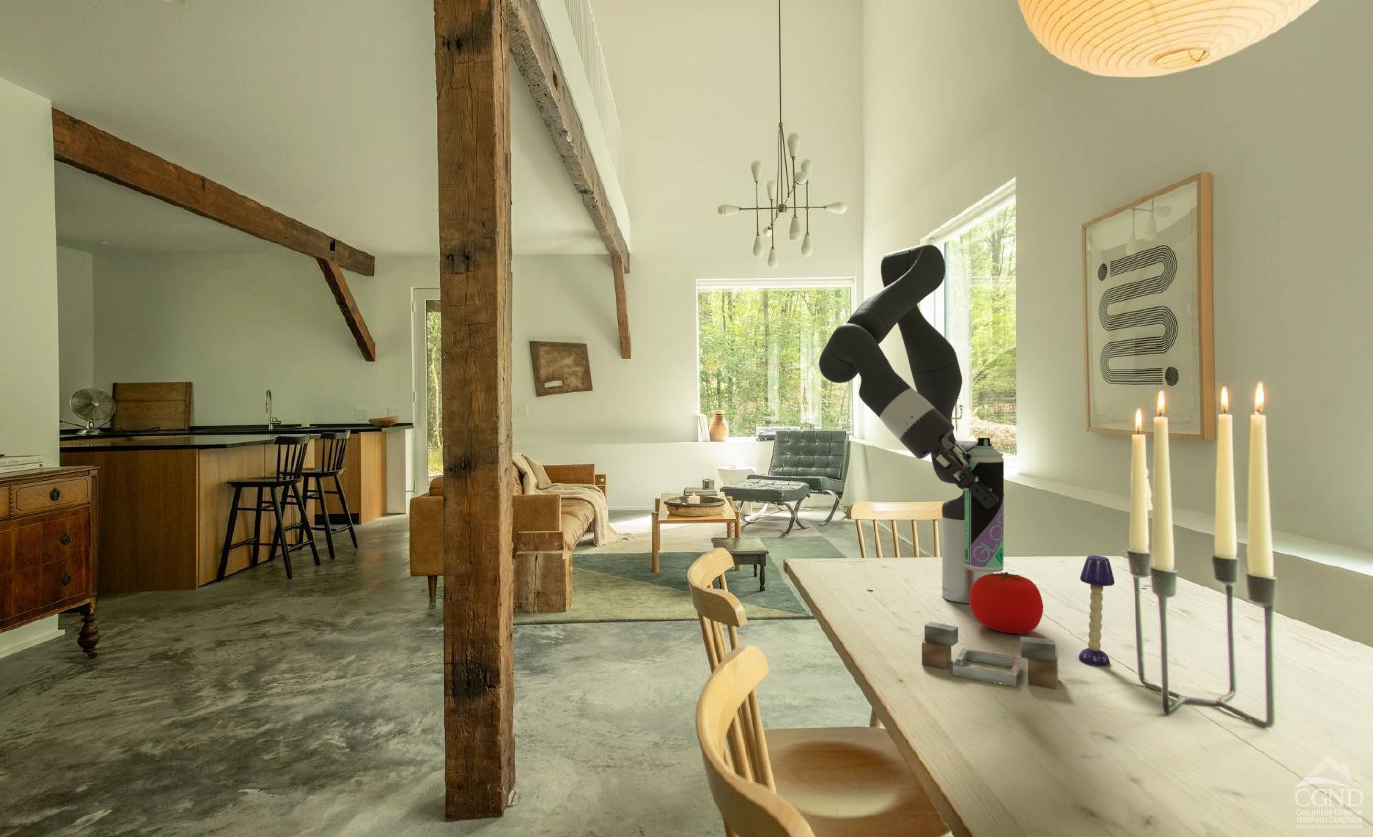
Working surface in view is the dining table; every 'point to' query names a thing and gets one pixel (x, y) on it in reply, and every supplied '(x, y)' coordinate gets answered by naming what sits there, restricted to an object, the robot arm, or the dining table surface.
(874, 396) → the robot arm
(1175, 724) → the dining table surface
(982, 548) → the spray can
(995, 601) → the tomato
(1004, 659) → the socket collar
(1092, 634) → the toy lamp
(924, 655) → the stand
